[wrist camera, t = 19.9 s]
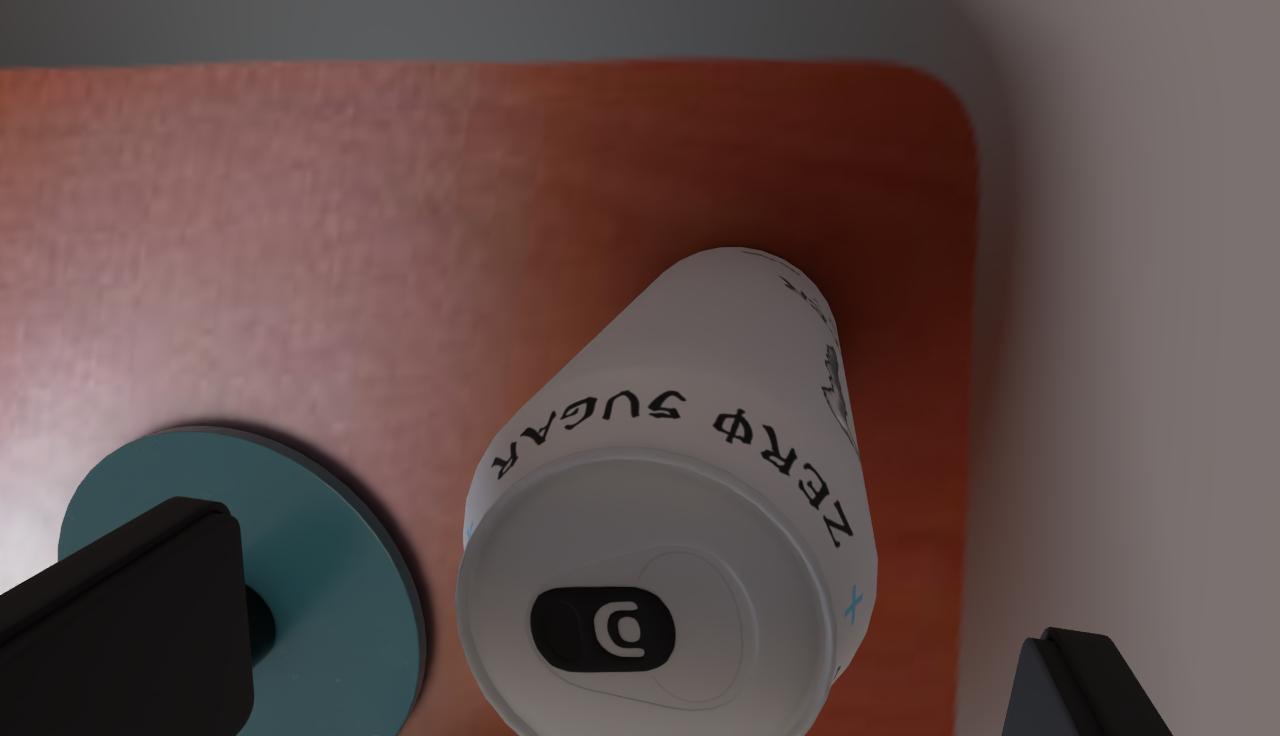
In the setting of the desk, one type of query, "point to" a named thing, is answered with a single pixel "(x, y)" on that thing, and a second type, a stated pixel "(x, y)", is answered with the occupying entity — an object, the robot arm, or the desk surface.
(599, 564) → the energy drink can
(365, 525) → the pot lid
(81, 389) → the desk surface
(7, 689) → the robot arm
